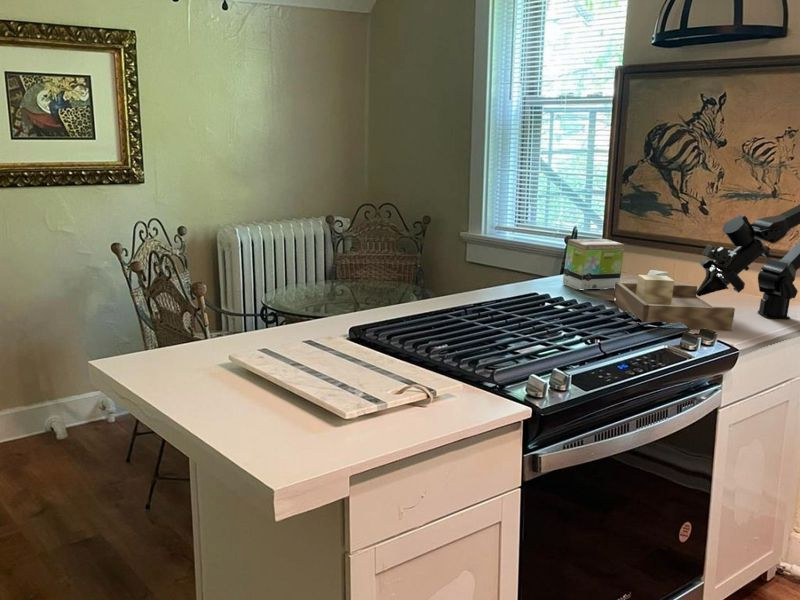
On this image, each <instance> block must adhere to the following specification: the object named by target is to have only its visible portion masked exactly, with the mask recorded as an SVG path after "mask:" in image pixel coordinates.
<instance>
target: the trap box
mask: <svg viewBox="0 0 800 600" xmlns="http://www.w3.org/2000/svg"><path fill="white" fill-rule="evenodd" d="M636 289H637V282H625V281H624V282H623V281H620V282H616V283H615V289H614V292H613V293H614V294H613V298H614V297H615V298H616V301H613V300H612V301H613V303H614V304H615V305H616V306H617V307H619V309H621V310H622V311H623V312H624V311H629V312H631V313H632V314H633V315H634V316H635V317H638V318H639V319H640V320H641V321H642V322H666V323H678V322H681V323H684V324H685V325H686V326H687V327H688V328H689V329H688V330H698V331H699V330H700V329H701V328H706V329H709V330H708V331H723V332H724V331H726V332H727V331H728V332H732V331H733V330H732V329H733V324H734V317H735V312H736V308H735V307H731V306H730V307H726V306H712V305H711V304H709V303H708V302H706V301H704V300H703V299H701V298H700V297H699V296H697V295H696V292H697V290H698V285H696V284H675V283H674V287H673V294H672V301H671V305H657V304H647V303H646V302H644V301H643V300H642V299H641V298H639V297H638V296H637V295H636Z"/></svg>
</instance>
